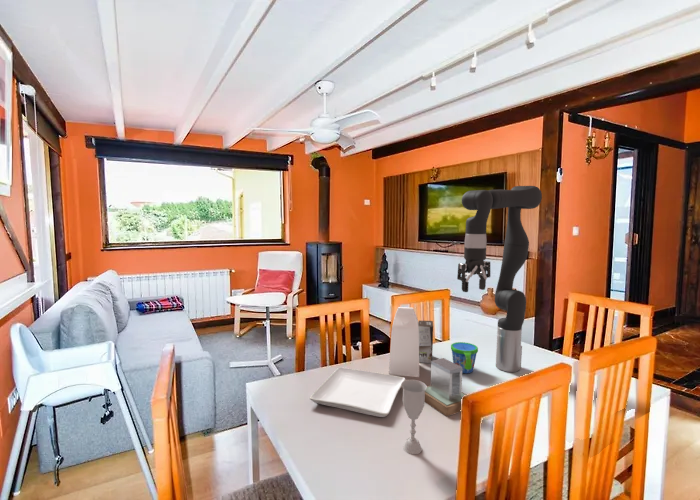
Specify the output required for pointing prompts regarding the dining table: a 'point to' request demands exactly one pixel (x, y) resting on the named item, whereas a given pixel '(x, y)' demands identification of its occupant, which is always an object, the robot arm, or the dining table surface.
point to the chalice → (413, 410)
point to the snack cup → (464, 355)
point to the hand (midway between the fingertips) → (473, 290)
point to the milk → (404, 343)
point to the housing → (446, 378)
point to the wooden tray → (443, 402)
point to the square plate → (359, 391)
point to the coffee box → (425, 341)
